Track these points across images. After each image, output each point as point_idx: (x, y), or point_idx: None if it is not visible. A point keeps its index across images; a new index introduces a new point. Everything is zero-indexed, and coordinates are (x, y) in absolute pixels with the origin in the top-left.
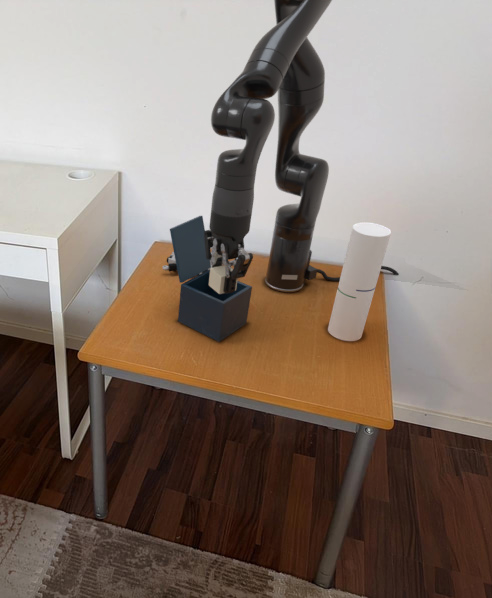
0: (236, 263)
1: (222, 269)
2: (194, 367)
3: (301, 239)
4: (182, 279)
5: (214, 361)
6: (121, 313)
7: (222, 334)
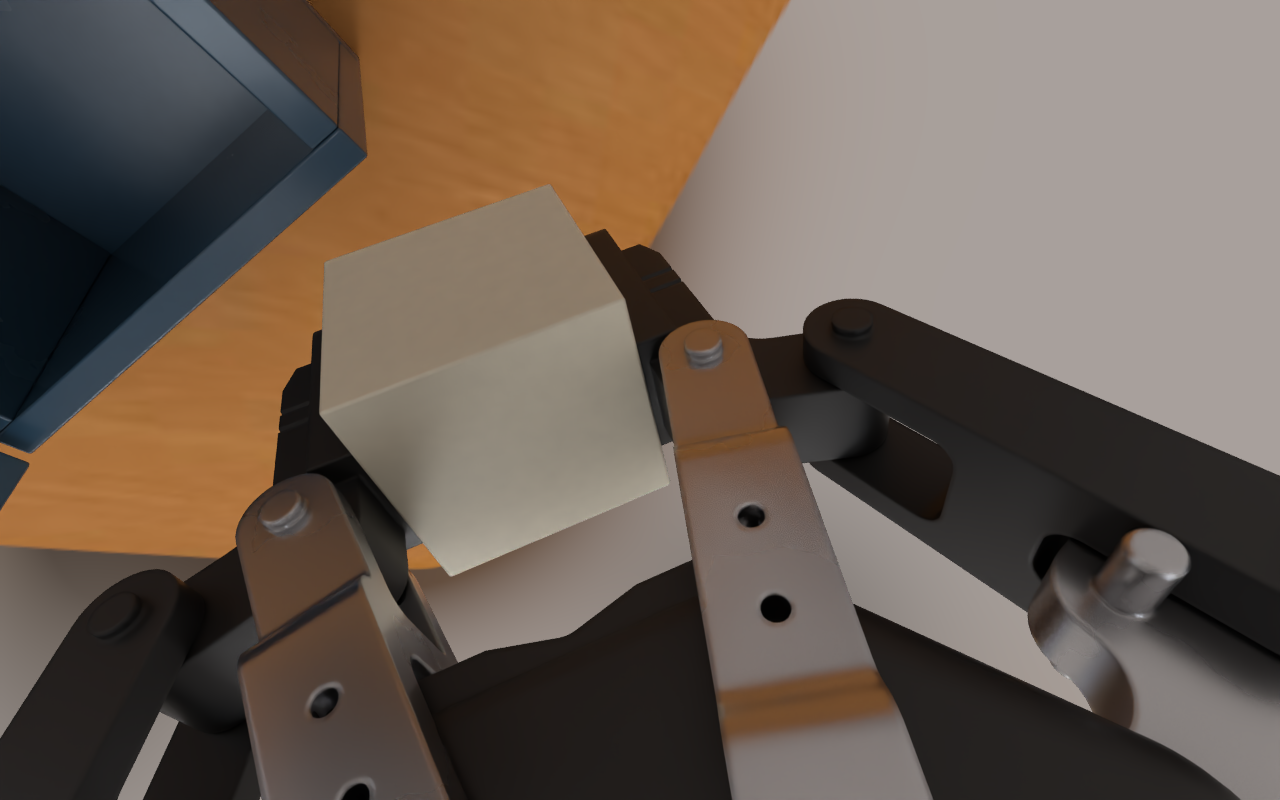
0: (1029, 595)
1: (497, 472)
2: None
3: None
4: (2, 482)
5: (552, 142)
6: (117, 522)
7: (335, 41)
